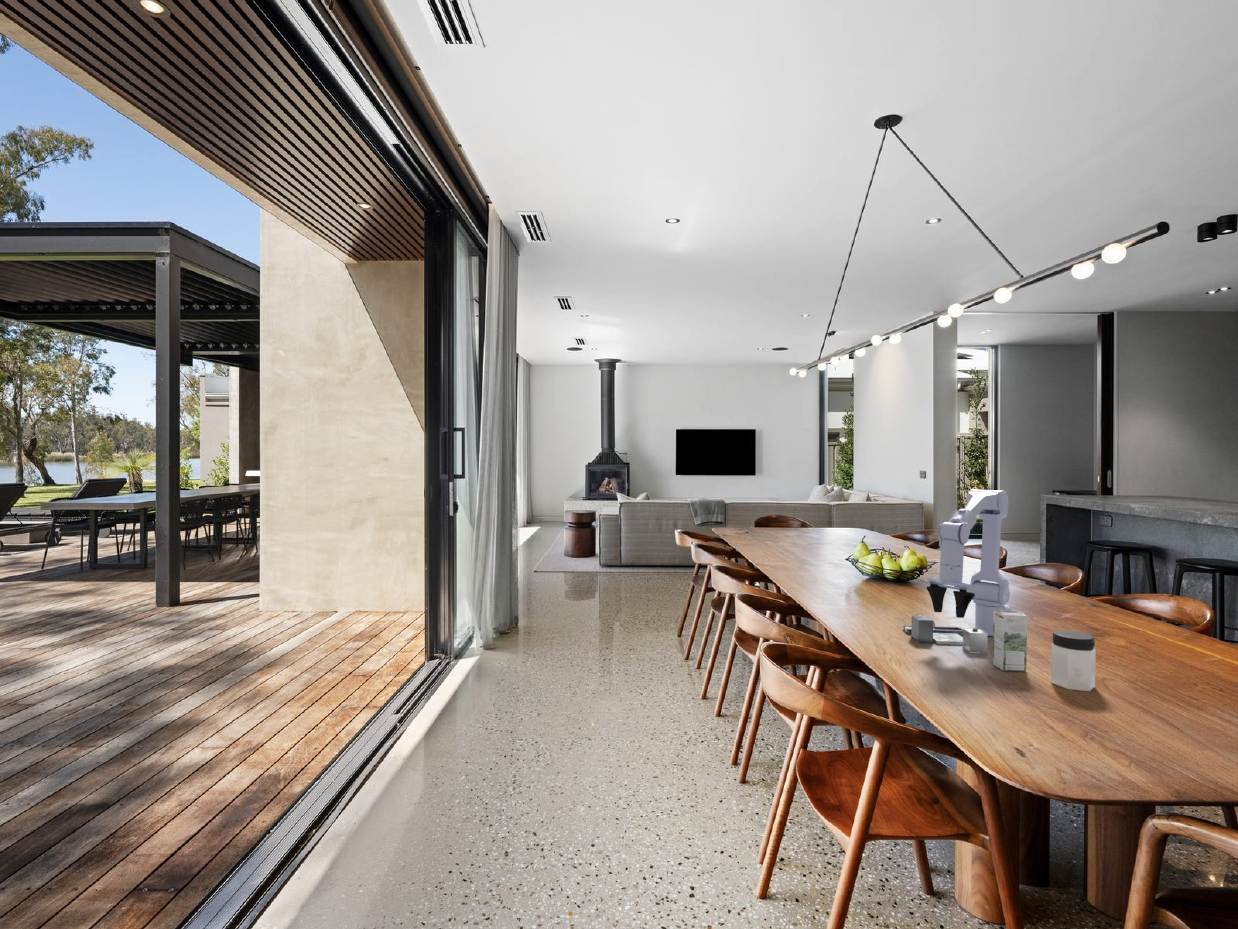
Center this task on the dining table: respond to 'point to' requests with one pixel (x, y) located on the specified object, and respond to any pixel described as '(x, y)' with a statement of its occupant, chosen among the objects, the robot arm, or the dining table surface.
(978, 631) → the block
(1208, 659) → the dining table surface
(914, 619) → the press
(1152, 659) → the dining table surface
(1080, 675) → the jar
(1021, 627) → the syrup box
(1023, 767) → the dining table surface
